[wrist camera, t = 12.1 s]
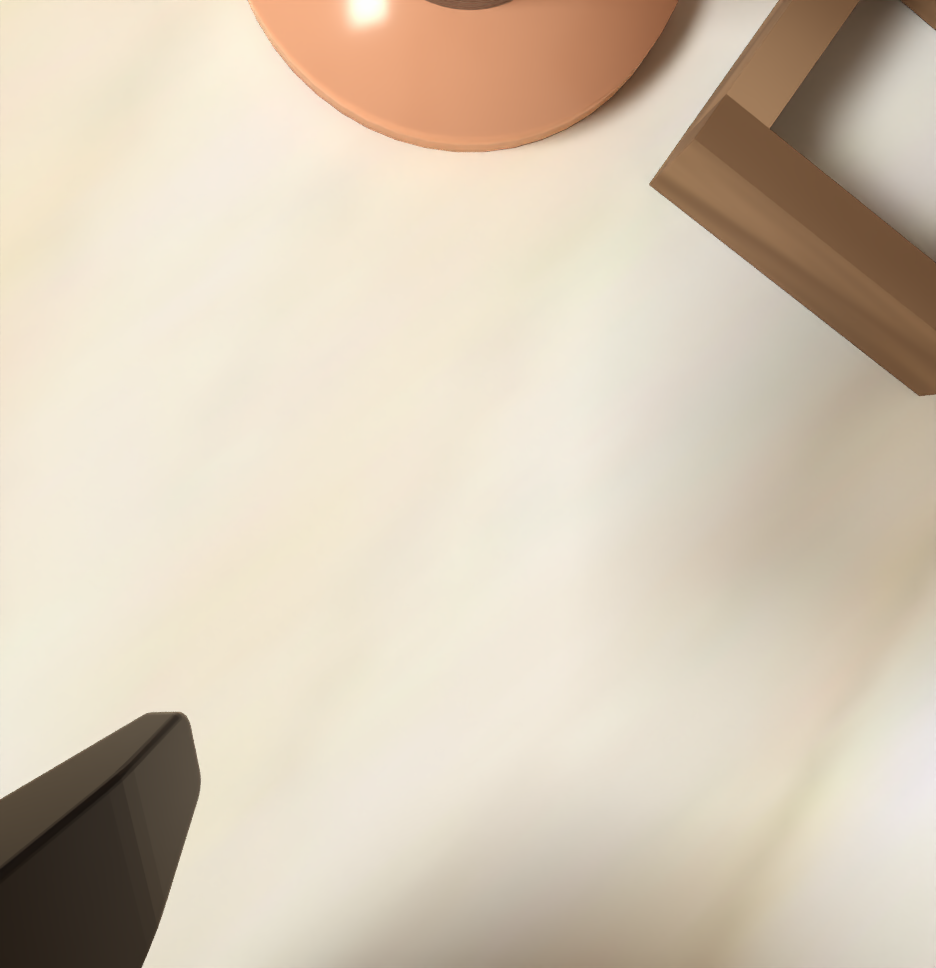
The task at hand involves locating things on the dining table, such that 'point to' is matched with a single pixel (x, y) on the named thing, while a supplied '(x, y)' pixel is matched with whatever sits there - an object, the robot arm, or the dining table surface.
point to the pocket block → (804, 200)
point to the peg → (469, 4)
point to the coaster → (464, 63)
